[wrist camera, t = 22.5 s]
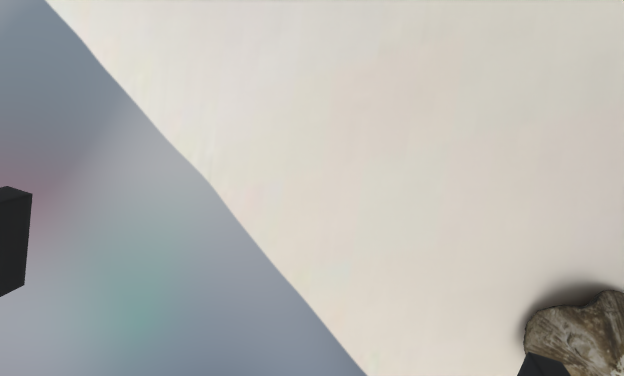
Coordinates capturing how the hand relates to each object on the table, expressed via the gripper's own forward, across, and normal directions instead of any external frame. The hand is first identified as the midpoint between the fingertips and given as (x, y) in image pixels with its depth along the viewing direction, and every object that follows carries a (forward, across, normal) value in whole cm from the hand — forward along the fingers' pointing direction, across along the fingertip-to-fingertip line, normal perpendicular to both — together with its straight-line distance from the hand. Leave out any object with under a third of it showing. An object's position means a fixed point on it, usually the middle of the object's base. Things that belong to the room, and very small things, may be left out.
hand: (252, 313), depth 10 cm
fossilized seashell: (+27, +24, -8) cm, 37 cm away
